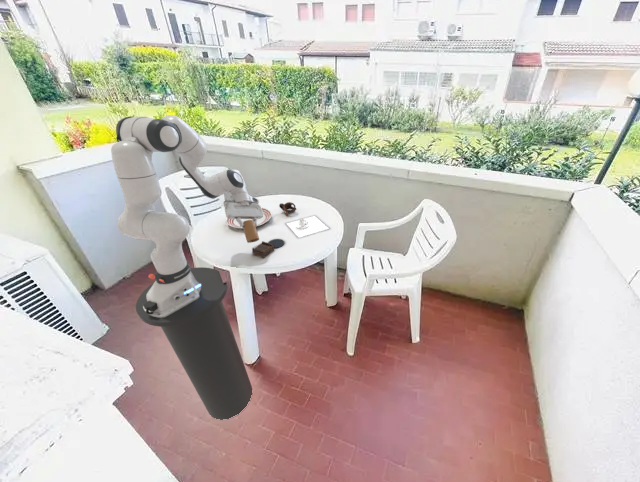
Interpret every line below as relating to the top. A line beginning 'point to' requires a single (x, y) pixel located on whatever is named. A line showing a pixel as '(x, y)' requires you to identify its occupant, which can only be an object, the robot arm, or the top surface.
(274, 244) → the coaster
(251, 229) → the paper roll
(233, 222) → the dinner plate
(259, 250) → the roll stand
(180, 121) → the robot arm
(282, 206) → the brown openwork ring figurine
